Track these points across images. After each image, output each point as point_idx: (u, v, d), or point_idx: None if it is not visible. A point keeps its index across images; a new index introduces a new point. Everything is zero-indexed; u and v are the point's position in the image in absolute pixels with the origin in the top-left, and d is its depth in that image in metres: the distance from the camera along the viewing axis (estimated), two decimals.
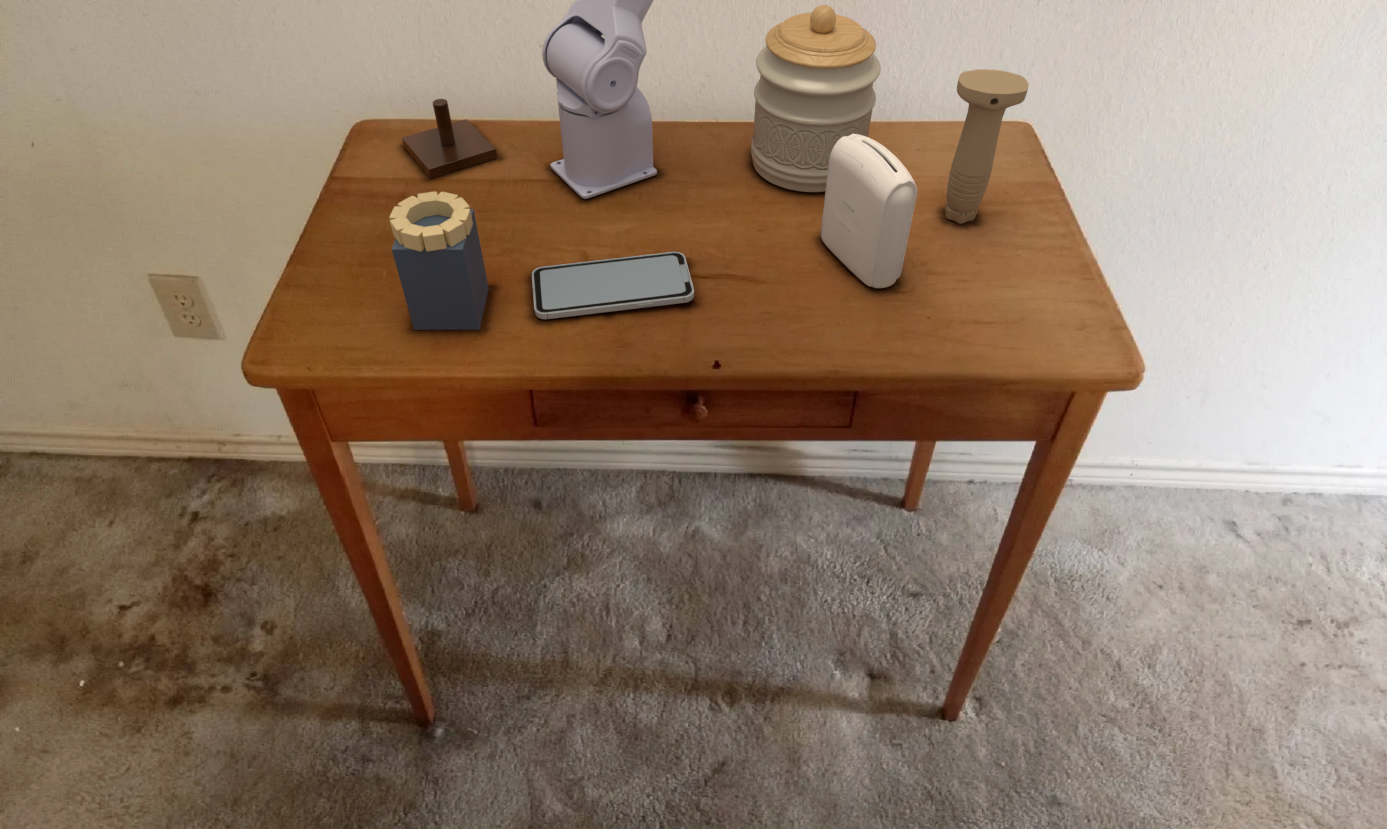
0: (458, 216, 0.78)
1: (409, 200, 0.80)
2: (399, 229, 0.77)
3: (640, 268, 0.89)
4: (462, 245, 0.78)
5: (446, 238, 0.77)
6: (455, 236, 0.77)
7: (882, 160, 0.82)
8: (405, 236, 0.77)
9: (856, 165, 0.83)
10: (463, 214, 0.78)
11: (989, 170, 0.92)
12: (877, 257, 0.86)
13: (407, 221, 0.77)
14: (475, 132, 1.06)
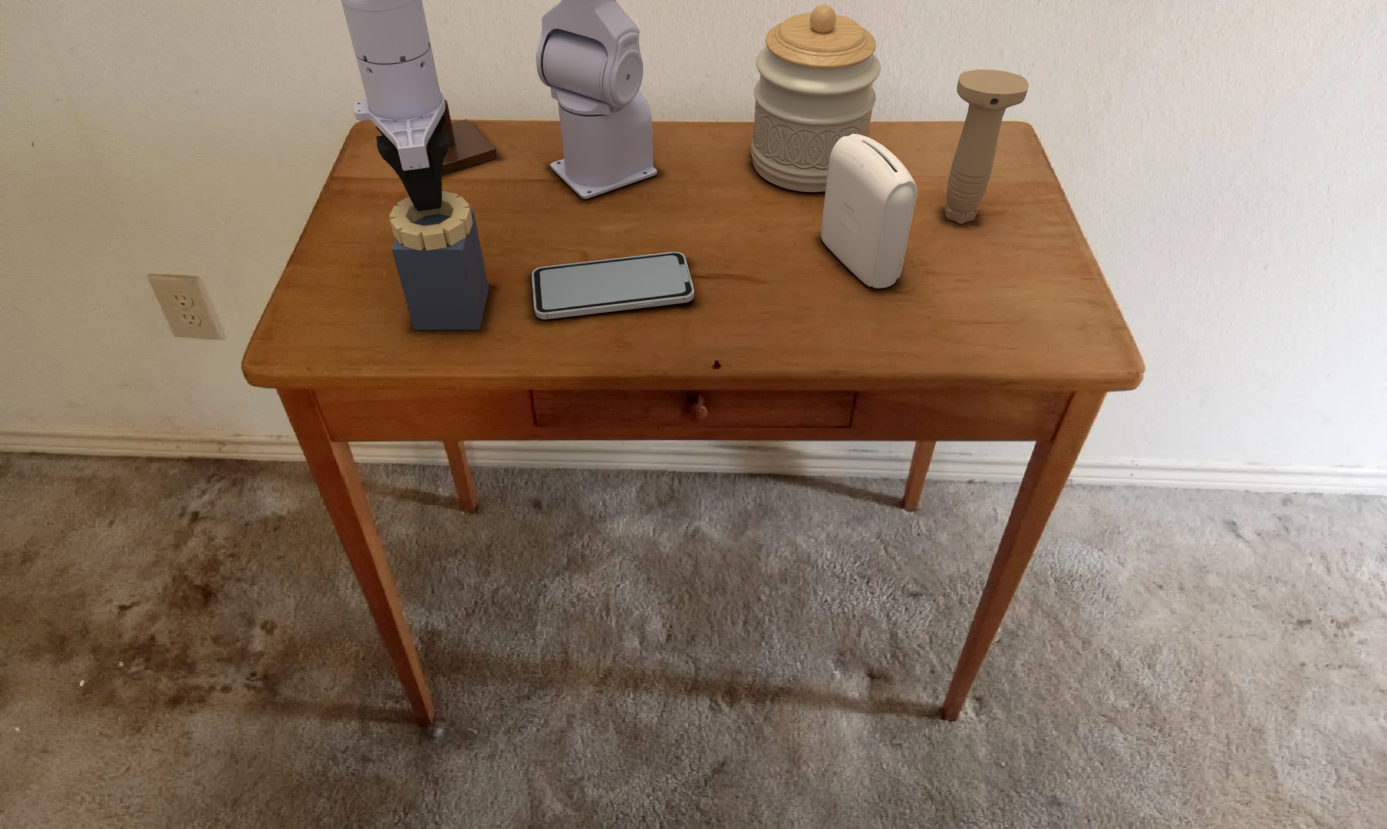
0: (458, 215, 0.78)
1: (409, 199, 0.80)
2: (399, 228, 0.77)
3: (640, 268, 0.89)
4: (462, 245, 0.78)
5: (446, 237, 0.77)
6: (455, 235, 0.77)
7: (882, 160, 0.82)
8: (405, 235, 0.77)
9: (856, 165, 0.83)
10: (463, 213, 0.78)
11: (989, 170, 0.92)
12: (877, 257, 0.86)
13: (407, 220, 0.78)
14: (475, 132, 1.06)
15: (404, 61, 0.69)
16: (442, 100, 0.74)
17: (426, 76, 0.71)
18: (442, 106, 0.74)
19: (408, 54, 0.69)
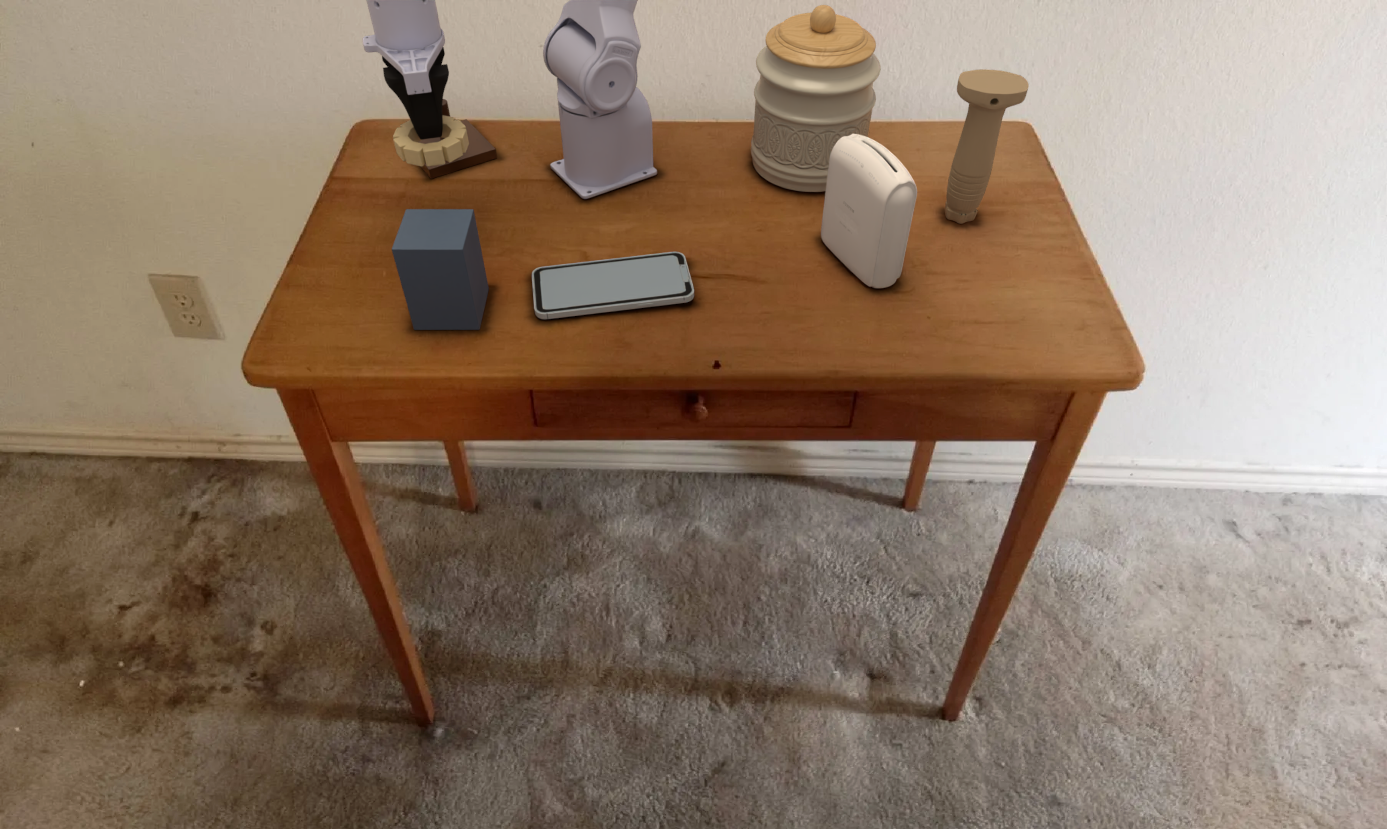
0: (455, 134, 0.86)
1: (411, 122, 0.87)
2: (402, 146, 0.84)
3: (640, 268, 0.89)
4: (462, 245, 0.78)
5: (445, 154, 0.85)
6: (453, 152, 0.85)
7: (882, 160, 0.82)
8: (407, 152, 0.84)
9: (856, 165, 0.83)
10: (460, 133, 0.86)
11: (989, 170, 0.92)
12: (877, 257, 0.86)
13: (409, 139, 0.85)
14: (475, 132, 1.06)
15: None
16: (442, 34, 0.82)
17: (428, 10, 0.79)
18: (442, 39, 0.82)
19: None
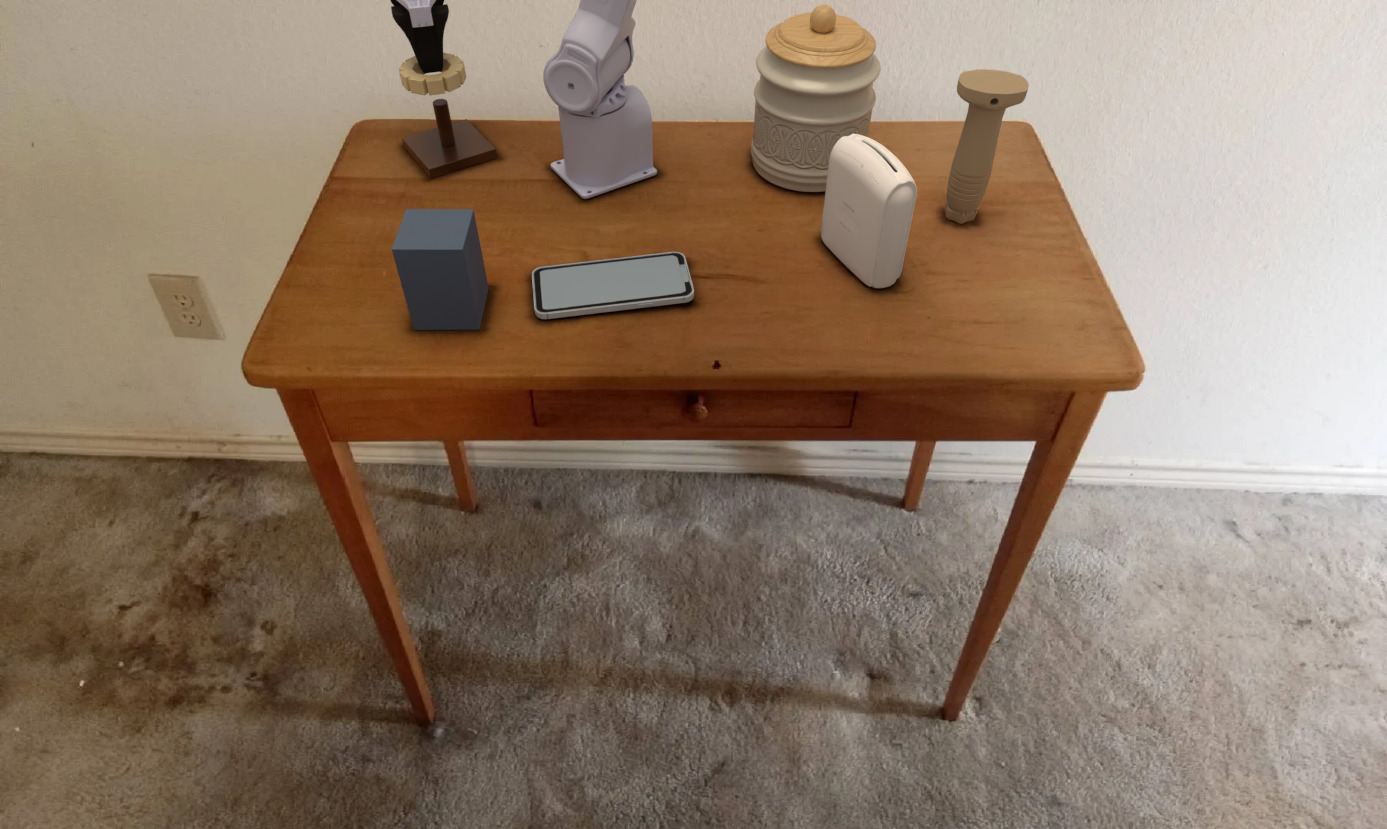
0: (454, 68, 0.97)
1: (415, 57, 0.98)
2: (407, 77, 0.96)
3: (640, 268, 0.89)
4: (462, 245, 0.78)
5: (445, 84, 0.96)
6: (452, 83, 0.96)
7: (882, 160, 0.82)
8: (412, 82, 0.95)
9: (856, 165, 0.83)
10: (458, 67, 0.97)
11: (989, 170, 0.92)
12: (876, 257, 0.86)
13: (413, 71, 0.96)
14: (475, 132, 1.06)
15: None
16: None
17: None
18: None
19: None
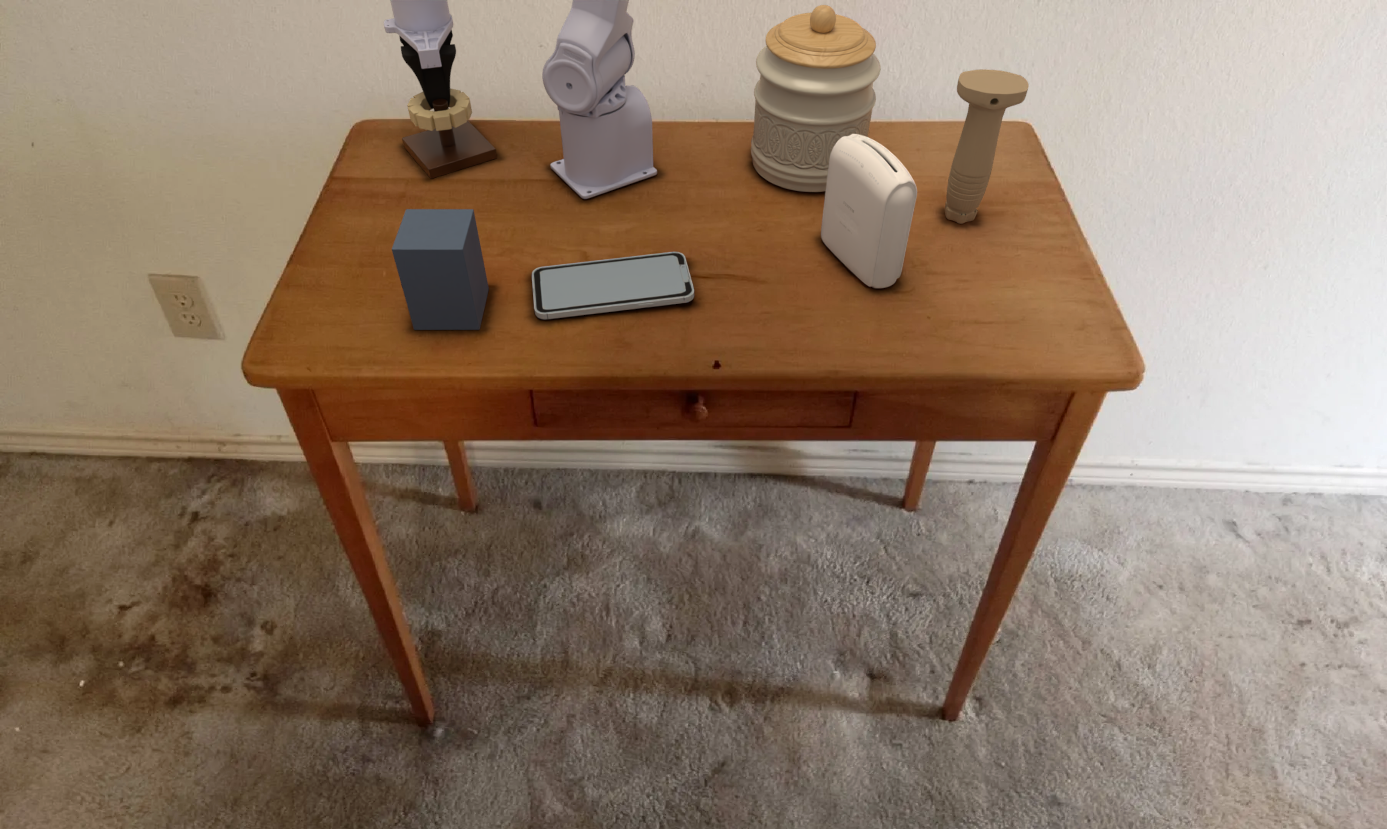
0: (461, 104, 1.01)
1: (422, 93, 1.02)
2: (415, 113, 0.99)
3: (640, 268, 0.89)
4: (462, 245, 0.78)
5: (451, 120, 1.00)
6: (458, 119, 1.00)
7: (882, 160, 0.82)
8: (420, 118, 0.99)
9: (856, 165, 0.83)
10: (464, 103, 1.01)
11: (989, 170, 0.92)
12: (877, 257, 0.86)
13: (421, 107, 1.00)
14: (475, 132, 1.06)
15: None
16: (451, 18, 0.97)
17: None
18: (451, 23, 0.97)
19: None
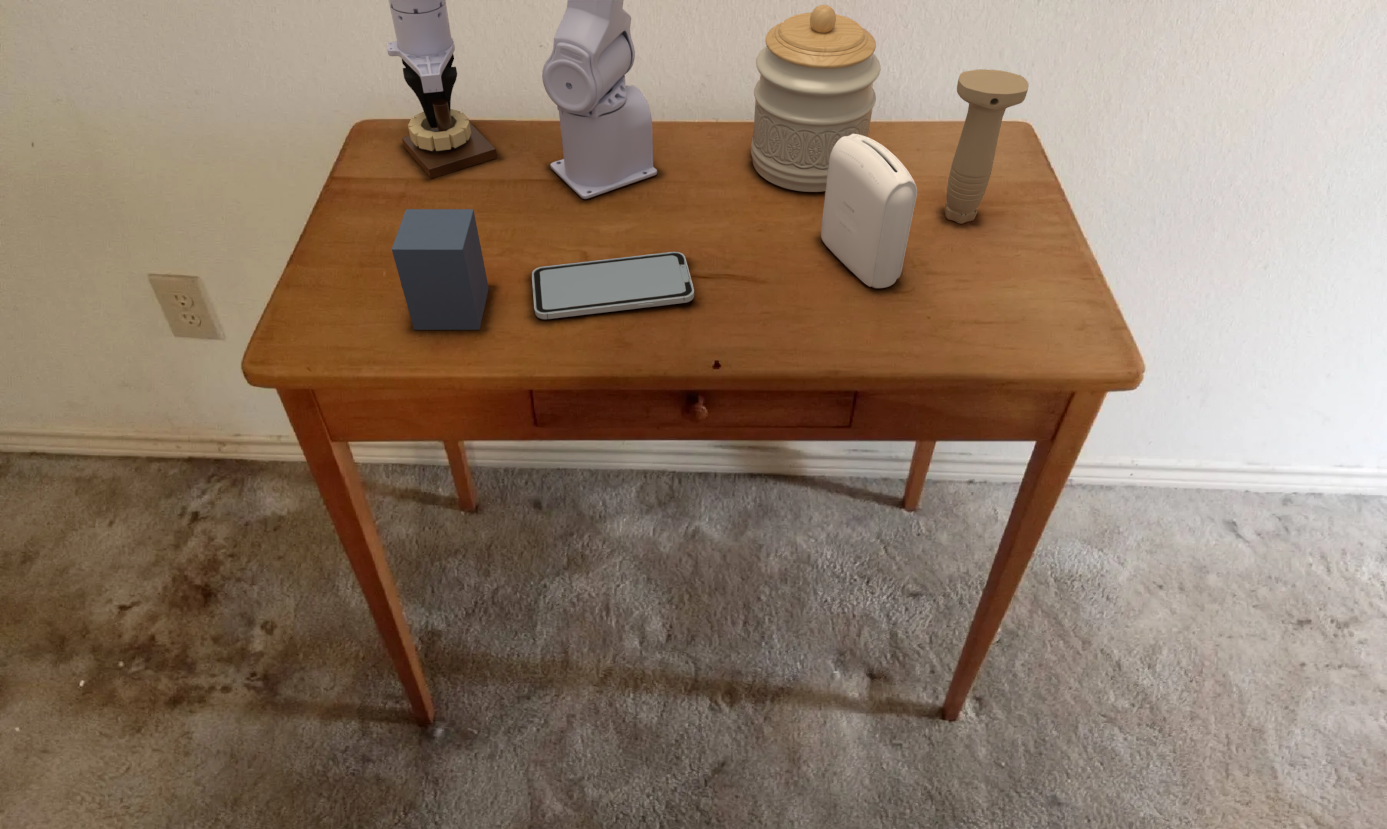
0: (460, 125, 1.03)
1: (423, 113, 1.05)
2: (415, 133, 1.02)
3: (640, 268, 0.89)
4: (462, 245, 0.78)
5: (451, 141, 1.02)
6: (458, 139, 1.02)
7: (882, 160, 0.82)
8: (420, 138, 1.01)
9: (856, 165, 0.83)
10: (464, 124, 1.03)
11: (989, 170, 0.92)
12: (877, 257, 0.86)
13: (421, 128, 1.02)
14: (475, 132, 1.06)
15: (426, 11, 0.94)
16: (452, 43, 0.99)
17: (442, 24, 0.96)
18: (452, 47, 0.99)
19: (393, 5, 0.94)
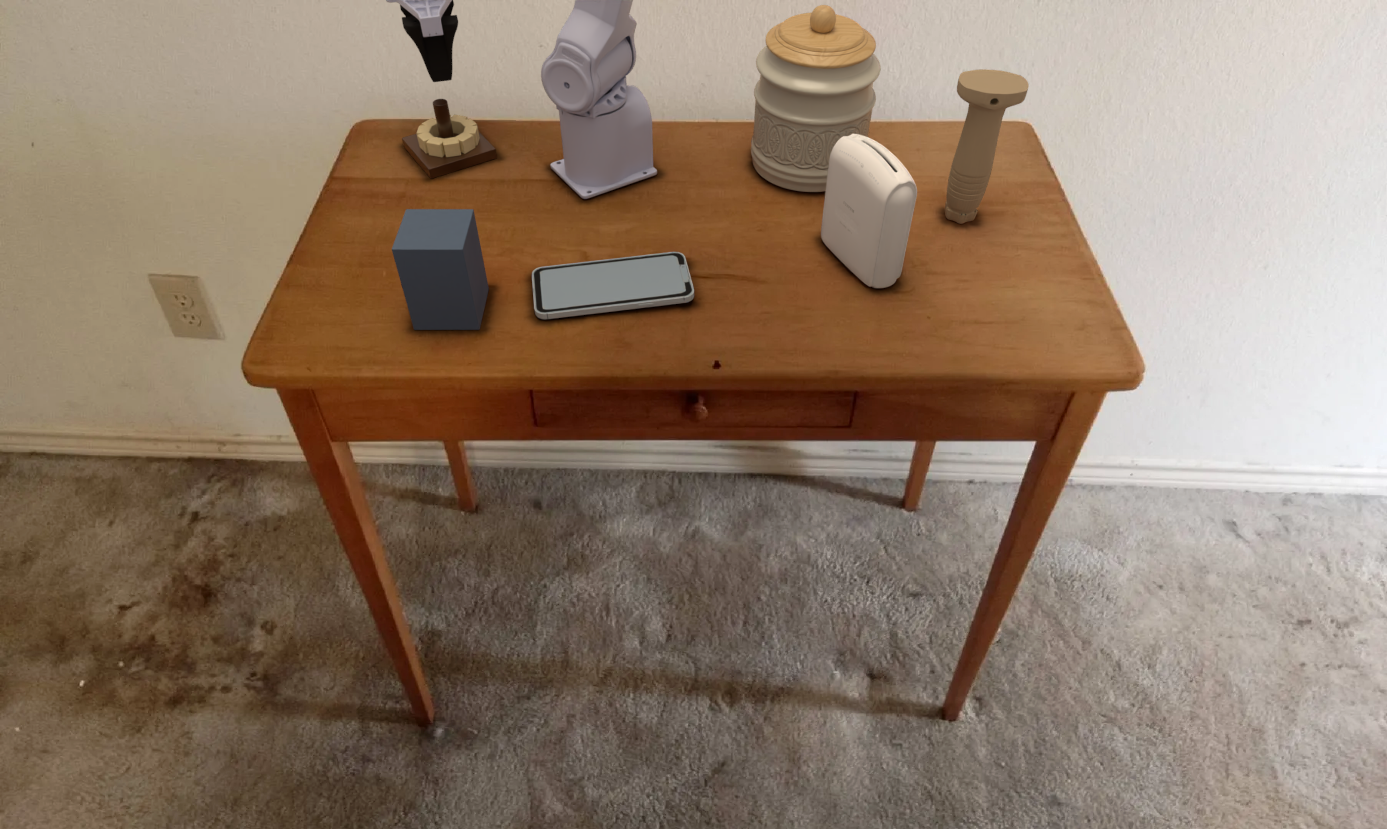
0: (469, 130, 1.03)
1: (430, 120, 1.05)
2: (425, 140, 1.02)
3: (640, 268, 0.89)
4: (462, 245, 0.78)
5: (460, 147, 1.02)
6: (467, 145, 1.02)
7: (882, 160, 0.82)
8: (430, 145, 1.01)
9: (856, 165, 0.83)
10: (472, 129, 1.03)
11: (989, 170, 0.92)
12: (876, 257, 0.86)
13: (430, 135, 1.02)
14: None
15: None
16: None
17: None
18: None
19: None
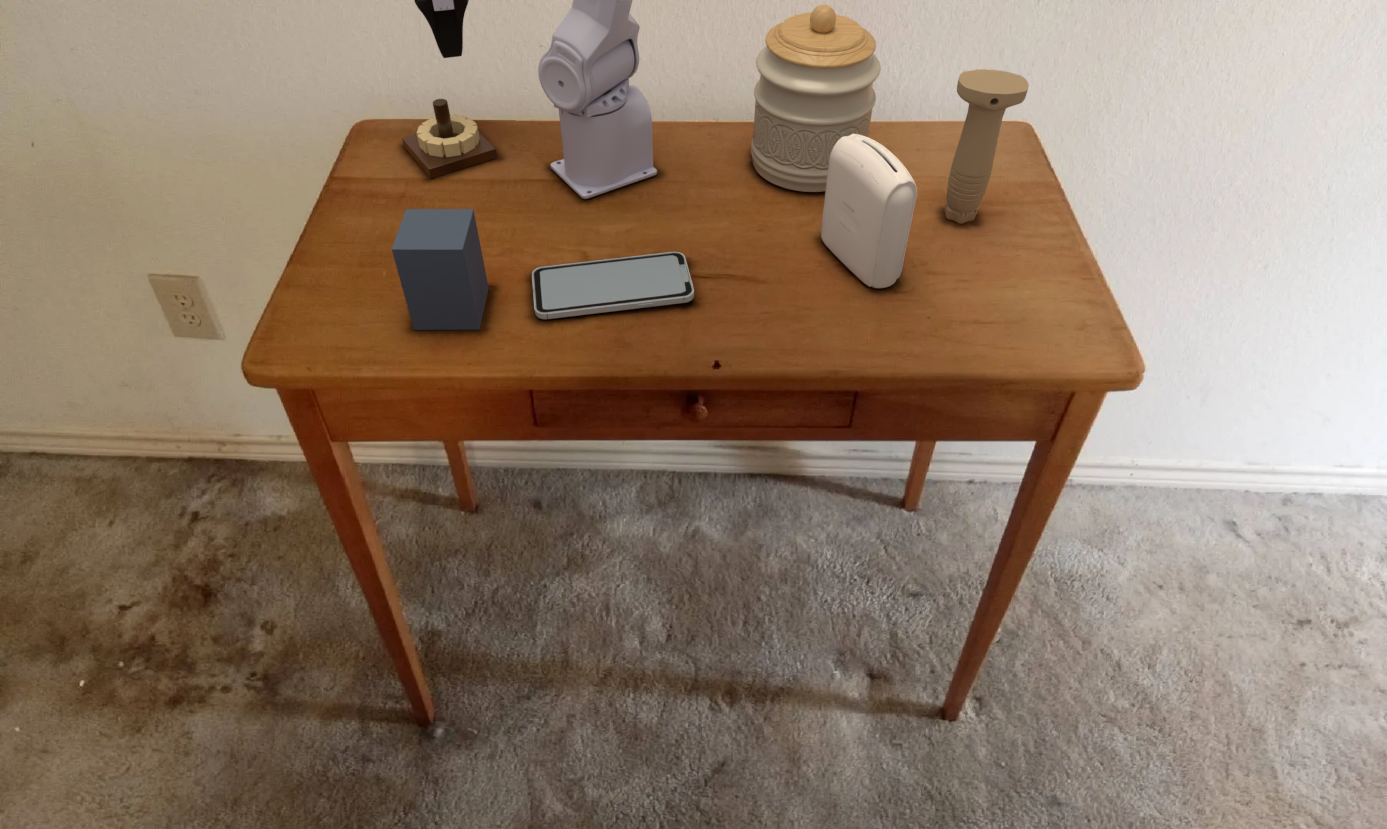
0: (469, 130, 1.03)
1: (430, 120, 1.05)
2: (425, 140, 1.02)
3: (640, 268, 0.89)
4: (462, 245, 0.78)
5: (460, 147, 1.02)
6: (467, 145, 1.02)
7: (882, 160, 0.82)
8: (430, 145, 1.01)
9: (856, 165, 0.83)
10: (472, 129, 1.03)
11: (989, 170, 0.92)
12: (877, 257, 0.86)
13: (430, 135, 1.02)
14: None
15: None
16: None
17: None
18: None
19: None
